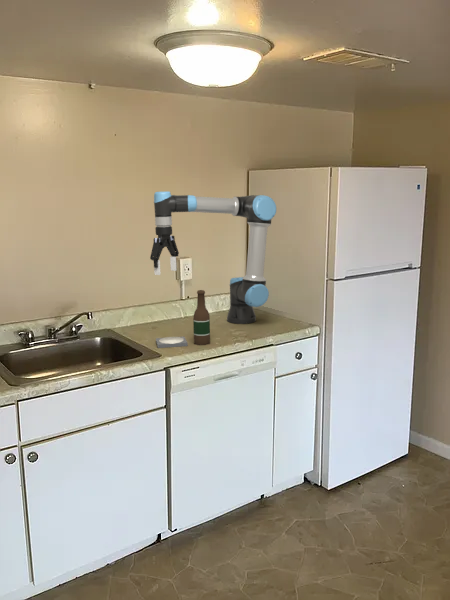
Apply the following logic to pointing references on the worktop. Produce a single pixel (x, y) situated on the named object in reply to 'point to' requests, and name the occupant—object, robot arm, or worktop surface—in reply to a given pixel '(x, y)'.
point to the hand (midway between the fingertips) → (165, 272)
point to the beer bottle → (201, 321)
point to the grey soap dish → (171, 342)
